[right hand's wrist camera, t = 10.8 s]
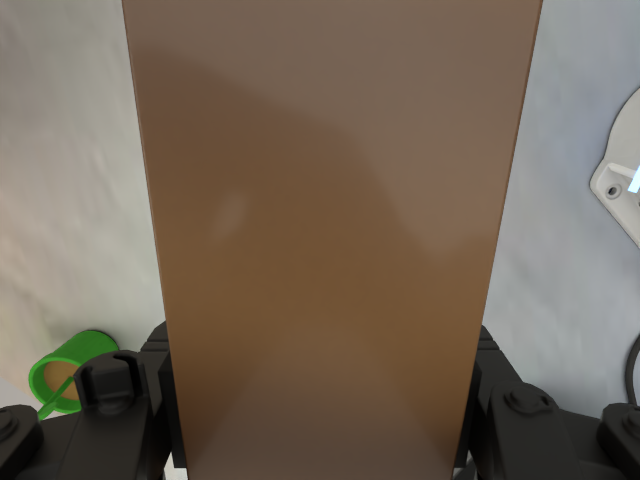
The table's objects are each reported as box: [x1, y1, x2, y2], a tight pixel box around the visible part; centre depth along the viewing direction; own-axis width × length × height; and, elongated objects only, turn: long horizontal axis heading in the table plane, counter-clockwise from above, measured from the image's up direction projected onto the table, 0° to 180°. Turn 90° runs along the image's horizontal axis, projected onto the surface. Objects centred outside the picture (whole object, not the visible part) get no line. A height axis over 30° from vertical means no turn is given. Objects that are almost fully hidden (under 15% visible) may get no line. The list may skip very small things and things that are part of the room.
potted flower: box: [29, 331, 119, 421], centre depth 39 cm, size 9×8×25 cm
